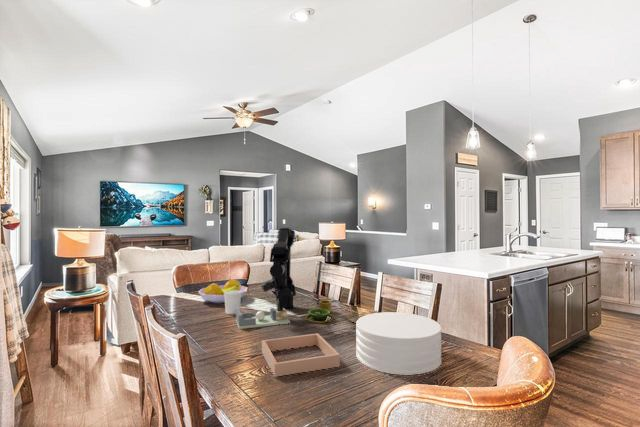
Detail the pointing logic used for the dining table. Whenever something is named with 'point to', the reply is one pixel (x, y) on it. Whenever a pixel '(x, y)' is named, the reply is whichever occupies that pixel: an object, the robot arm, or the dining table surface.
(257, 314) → the ball
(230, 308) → the white cup
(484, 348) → the dining table surface
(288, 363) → the rectangular frame
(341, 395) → the dining table surface
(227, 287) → the fruit bowl
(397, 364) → the plate stack
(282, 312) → the sled
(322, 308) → the tableware set
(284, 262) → the robot arm
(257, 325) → the pitch
